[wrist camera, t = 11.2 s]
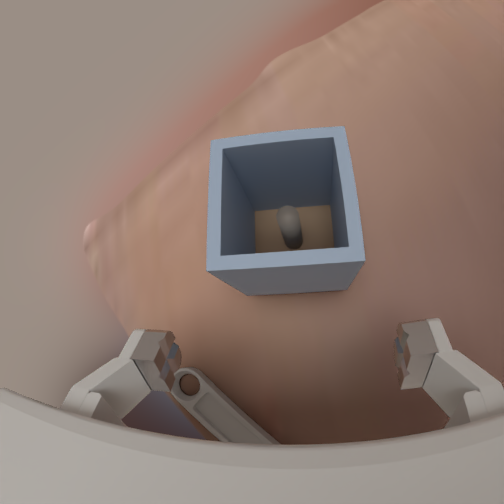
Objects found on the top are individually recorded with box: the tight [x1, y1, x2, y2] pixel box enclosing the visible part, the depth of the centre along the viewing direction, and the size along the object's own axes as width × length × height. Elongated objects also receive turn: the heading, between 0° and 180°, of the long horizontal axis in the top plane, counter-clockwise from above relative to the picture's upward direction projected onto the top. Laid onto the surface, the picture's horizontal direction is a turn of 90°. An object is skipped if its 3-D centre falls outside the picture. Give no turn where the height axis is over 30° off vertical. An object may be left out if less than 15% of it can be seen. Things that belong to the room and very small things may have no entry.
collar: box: [206, 126, 365, 296], centre depth 17 cm, size 6×6×8 cm
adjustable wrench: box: [171, 367, 281, 445], centre depth 17 cm, size 25×6×2 cm, turn 44°
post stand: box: [255, 205, 334, 253], centre depth 20 cm, size 6×6×6 cm
